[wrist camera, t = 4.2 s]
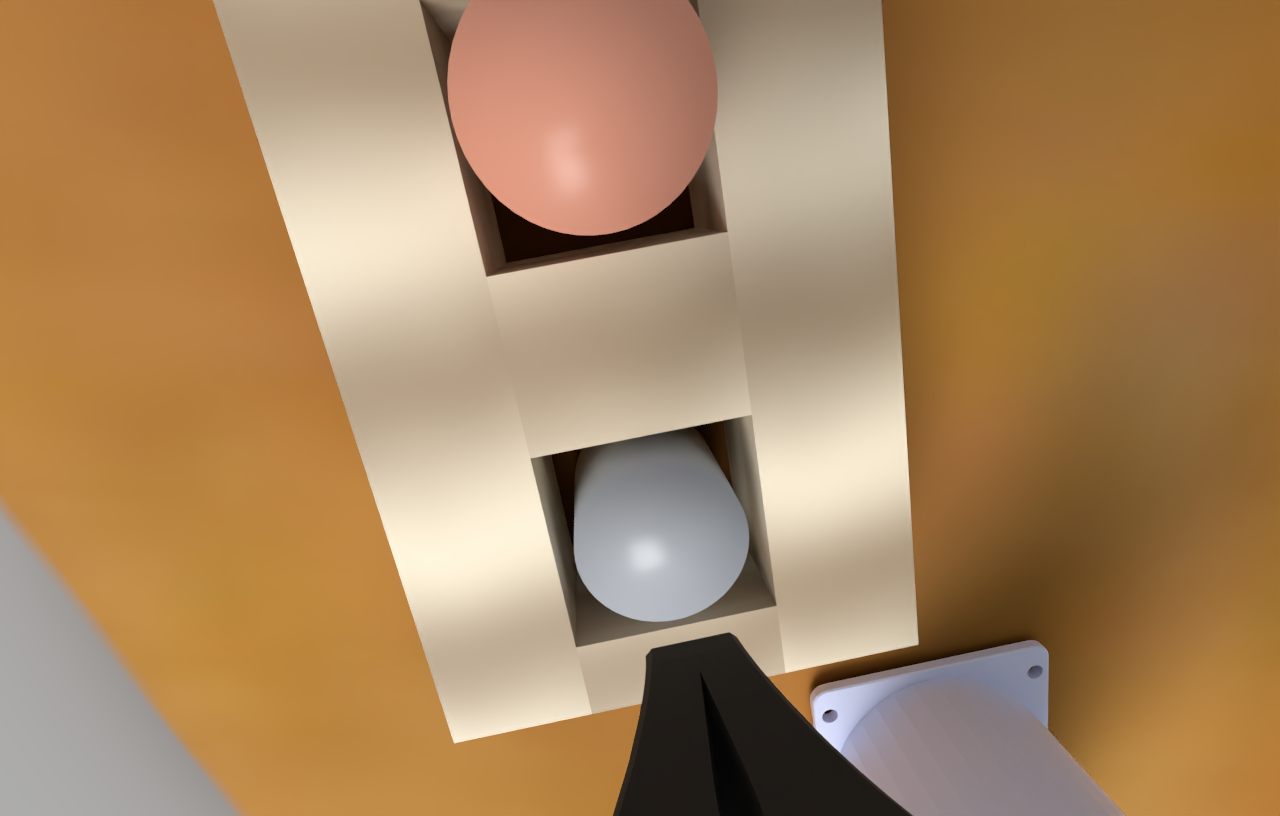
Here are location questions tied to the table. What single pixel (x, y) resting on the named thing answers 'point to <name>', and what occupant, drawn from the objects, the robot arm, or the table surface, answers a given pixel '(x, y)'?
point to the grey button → (657, 526)
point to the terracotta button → (583, 106)
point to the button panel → (602, 344)
